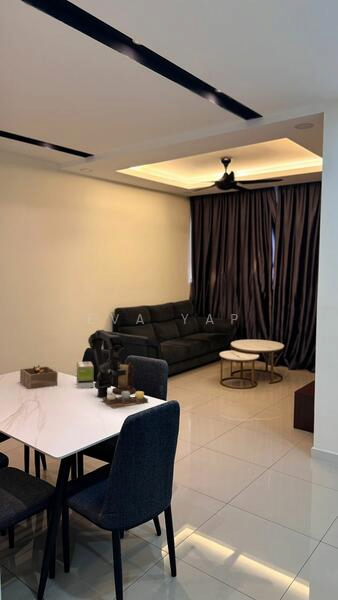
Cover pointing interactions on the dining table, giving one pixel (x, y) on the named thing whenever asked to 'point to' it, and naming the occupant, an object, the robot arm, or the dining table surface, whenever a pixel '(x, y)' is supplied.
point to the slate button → (125, 395)
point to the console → (123, 402)
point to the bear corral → (38, 378)
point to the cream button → (111, 396)
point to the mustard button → (139, 395)
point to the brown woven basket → (125, 380)
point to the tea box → (85, 374)
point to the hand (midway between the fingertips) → (113, 384)
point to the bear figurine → (38, 370)
